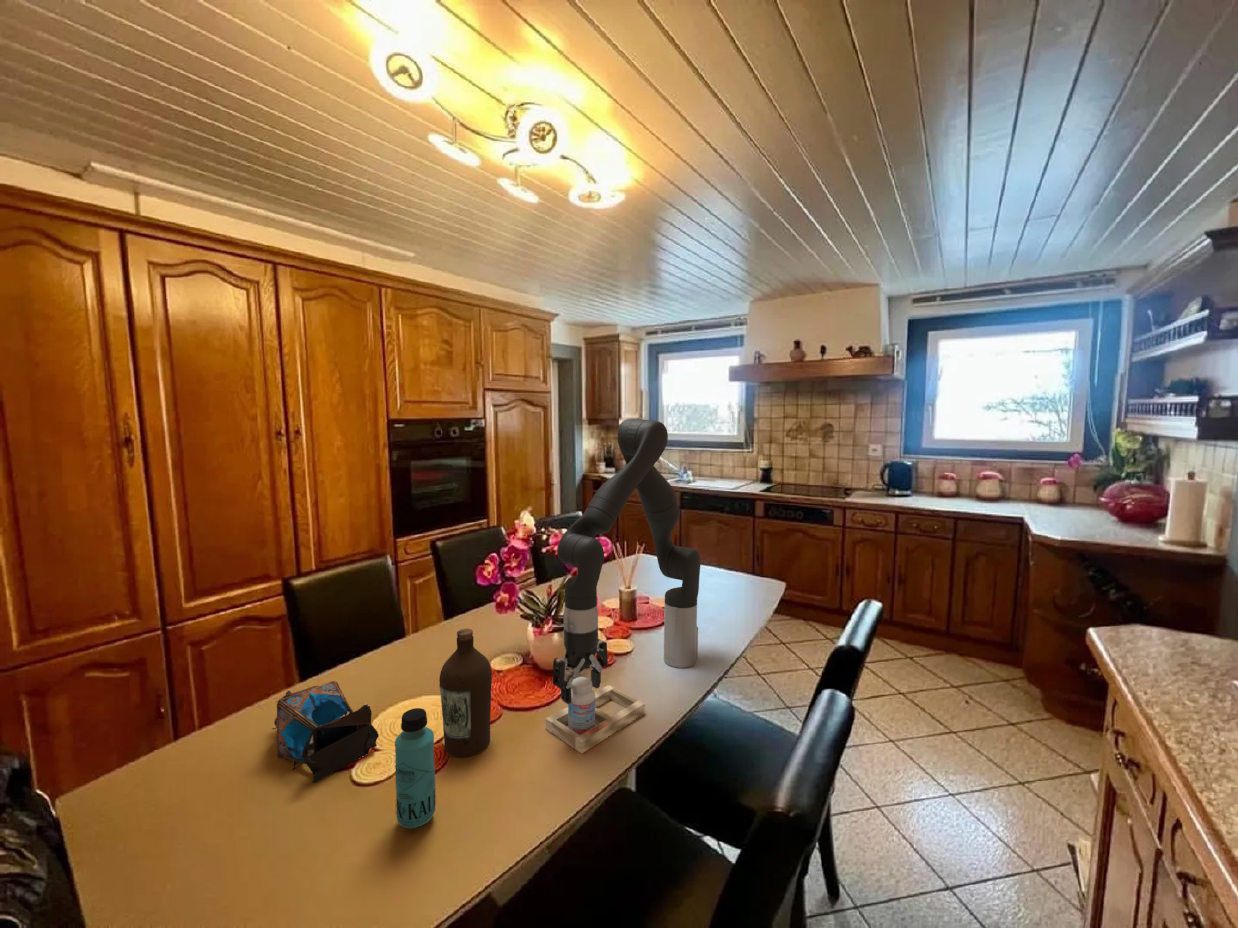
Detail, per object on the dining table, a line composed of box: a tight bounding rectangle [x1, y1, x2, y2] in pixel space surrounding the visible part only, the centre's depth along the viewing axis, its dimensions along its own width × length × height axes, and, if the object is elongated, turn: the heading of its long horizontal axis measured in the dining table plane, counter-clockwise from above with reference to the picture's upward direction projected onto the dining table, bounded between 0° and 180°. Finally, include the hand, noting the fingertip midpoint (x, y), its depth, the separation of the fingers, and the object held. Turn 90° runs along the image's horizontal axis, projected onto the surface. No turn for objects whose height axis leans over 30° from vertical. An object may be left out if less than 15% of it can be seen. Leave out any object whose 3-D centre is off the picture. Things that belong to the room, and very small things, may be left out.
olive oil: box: [438, 628, 493, 758], centre depth 108 cm, size 11×11×25 cm
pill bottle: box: [567, 676, 596, 735], centre depth 114 cm, size 6×6×11 cm
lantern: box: [271, 680, 380, 784], centre depth 107 cm, size 16×16×25 cm
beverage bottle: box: [394, 707, 437, 829], centre depth 87 cm, size 6×7×20 cm
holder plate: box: [545, 684, 646, 754], centre depth 118 cm, size 20×12×3 cm, turn 136°
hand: (581, 694), depth 114 cm, fingers open, 8 cm apart
